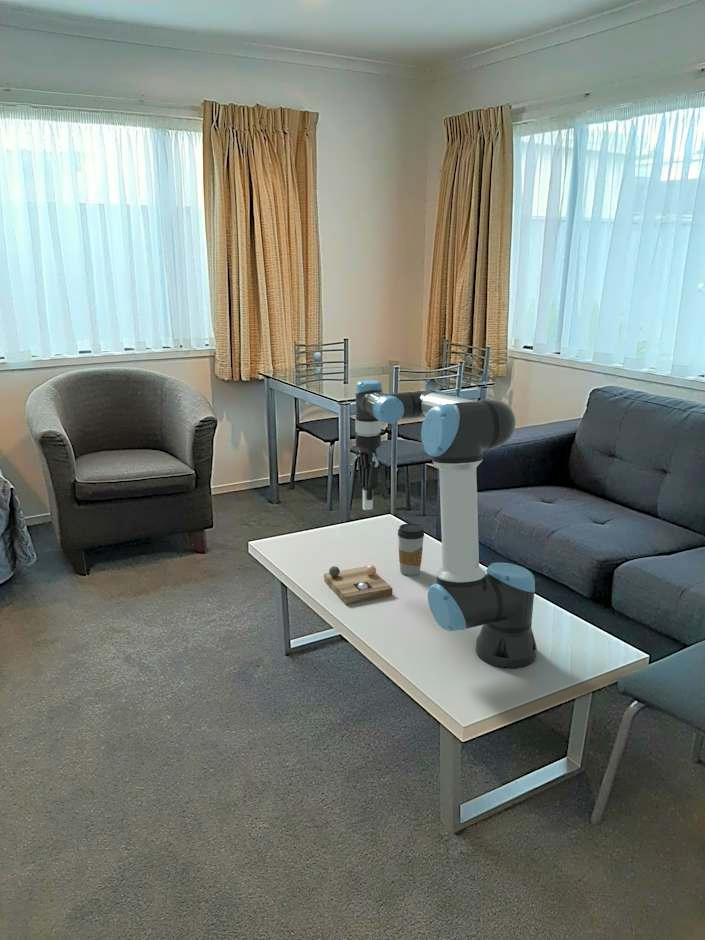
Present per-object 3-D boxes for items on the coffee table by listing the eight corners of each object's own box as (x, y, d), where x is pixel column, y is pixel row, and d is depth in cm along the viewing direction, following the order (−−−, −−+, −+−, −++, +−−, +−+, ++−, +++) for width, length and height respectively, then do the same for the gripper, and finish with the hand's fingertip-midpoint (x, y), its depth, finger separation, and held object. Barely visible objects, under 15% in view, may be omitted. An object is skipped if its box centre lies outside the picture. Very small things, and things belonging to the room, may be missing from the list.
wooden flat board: (392, 595, 220) (392, 587, 219) (345, 604, 214) (345, 596, 213) (368, 573, 235) (368, 565, 234) (324, 581, 229) (324, 573, 228)
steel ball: (371, 590, 219) (367, 579, 221) (360, 592, 218) (357, 581, 219) (367, 594, 222) (364, 584, 223) (357, 596, 221) (354, 586, 222)
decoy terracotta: (377, 576, 227) (378, 566, 226) (368, 578, 226) (368, 568, 225) (373, 572, 230) (373, 562, 229) (364, 574, 228) (364, 564, 227)
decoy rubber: (341, 577, 226) (341, 567, 225) (331, 579, 225) (331, 569, 224) (337, 573, 229) (337, 563, 228) (327, 575, 227) (327, 565, 226)
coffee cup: (413, 579, 230) (415, 534, 226) (391, 572, 235) (392, 528, 231) (428, 570, 237) (429, 526, 232) (406, 564, 242) (407, 520, 237)
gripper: (389, 437, 215) (388, 514, 222) (370, 427, 226) (370, 500, 233) (365, 439, 212) (365, 517, 219) (348, 429, 224) (347, 503, 230)
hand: (367, 508), depth 226 cm, fingers closed
